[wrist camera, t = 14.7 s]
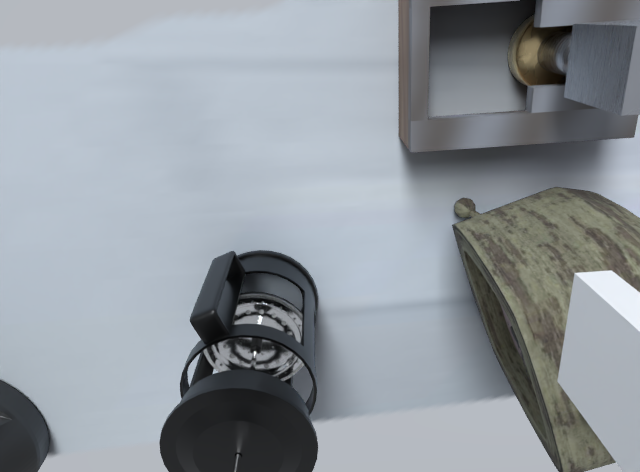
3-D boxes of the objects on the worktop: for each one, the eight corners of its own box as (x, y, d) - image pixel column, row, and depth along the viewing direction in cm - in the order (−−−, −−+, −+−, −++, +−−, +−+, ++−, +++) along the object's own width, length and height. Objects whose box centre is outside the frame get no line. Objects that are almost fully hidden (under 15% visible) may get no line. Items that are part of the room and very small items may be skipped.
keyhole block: (398, 136, 39) (410, 152, 34) (398, -26, 34) (412, -32, 30) (595, 122, 38) (633, 137, 34) (620, -41, 34) (669, -50, 29)
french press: (337, 326, 45) (361, 595, 24) (245, 362, 47) (192, 646, 26) (279, 215, 41) (248, 426, 20) (179, 259, 42) (50, 499, 21)
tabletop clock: (433, 191, 40) (595, 420, 18) (544, 148, 39) (875, 335, 16) (480, 331, 46) (650, 645, 23) (579, 297, 45) (863, 594, 22)
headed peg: (504, 90, 37) (606, 128, 25) (510, 13, 35) (625, 12, 22) (575, 85, 37) (713, 121, 24) (585, 8, 35) (743, 4, 22)
